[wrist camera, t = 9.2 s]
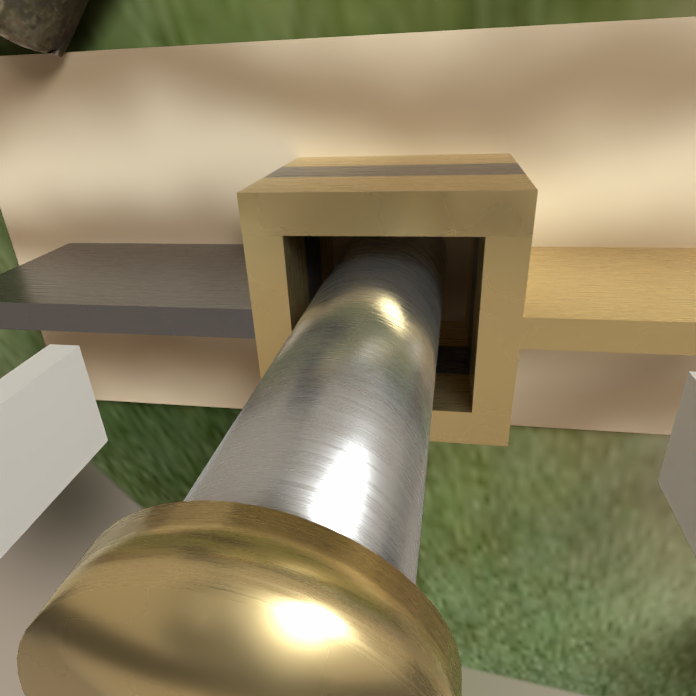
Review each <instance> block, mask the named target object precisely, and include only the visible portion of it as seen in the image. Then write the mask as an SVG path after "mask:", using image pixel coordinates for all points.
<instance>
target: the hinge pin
mask: <svg viewBox="0 0 696 696" xmlns="http://www.w3.org/2000/svg"><path fill="white" fill-rule="evenodd" d="M446 261H447V251H446V245H445V242H444V239H443V237H424V236H353V237H352V239H351V240H350V242H349V243H348V245H347V247H346V248H345V250H344V251H343V253H342V254H341V256H340V257H339V259H338V261H337V262H336V264H335V265H334V267H333V268H332V270H331V272H330V273H329V275H328V276H327V278H326V279H325V281H324V282H323V284H322V286H321V287H320V289H319V290H318V292H317V293H316V295H315V296H314V298H313V300H312V301H311V303H310V304H309V306H308V307H307V309H306V311H305V312H304V314H303V315H302V317H301V318H300V320H299V321H298V323H297V325H296V326H295V328H294V329H293V331H292V332H291V334H290V335H289V337H288V339H287V340H286V342H285V343H284V345H283V346H282V348H281V350H280V351H279V353H278V354H277V356H276V357H275V359H274V360H273V362H272V364H271V365H270V367H269V368H268V370H267V371H266V373H265V374H264V376H263V378H262V379H261V381H260V382H259V384H258V385H257V387H256V389H255V390H254V392H253V393H252V395H251V396H250V398H249V399H248V401H247V403H246V404H245V406H244V407H243V409H242V410H241V412H240V413H239V415H238V417H237V418H236V420H235V421H234V423H233V424H232V426H231V428H230V429H229V431H228V432H227V434H226V435H225V437H224V438H223V440H222V442H221V443H220V445H219V446H218V448H217V449H216V451H215V452H214V454H213V456H212V457H211V459H210V460H209V462H208V463H207V465H206V467H205V468H204V470H203V471H202V473H201V474H200V476H199V477H198V479H197V481H196V482H195V484H194V485H193V487H192V488H191V490H190V491H189V493H188V495H187V496H186V498H185V499H184V501H180V502H173V503H168V504H162V505H156V506H153V507H150V508H146V509H143V510H140V511H137V512H134V513H133V514H130V515H128V516H127V517H124V518H122V519H120V520H119V521H116V522H115V523H114V524H113V525H111V526H110V527H109V528H107V529H106V530H105V531H103V532H102V533H101V534H100V536H99V537H98V538H97V539H96V540H95V541H94V543H93V544H92V545H91V546H90V548H89V549H88V550H87V551H86V553H85V554H84V555H83V557H82V558H81V559H80V561H79V562H78V563H77V564H76V566H75V567H74V568H73V570H72V571H71V572H70V574H69V575H68V576H67V577H66V579H65V580H64V581H63V583H62V584H61V585H60V586H59V588H58V589H57V590H56V592H55V593H54V594H53V595H52V597H51V598H50V599H49V601H48V602H47V603H46V605H45V606H44V607H43V608H42V610H41V611H40V612H39V614H38V615H37V616H36V618H35V619H34V620H33V621H32V623H31V624H30V625H29V627H28V628H27V629H26V631H25V633H24V635H23V637H22V640H21V641H20V644H19V650H18V655H17V666H18V675H19V679H20V683H21V686H22V690H23V692H24V694H25V695H26V696H462V695H461V694H462V678H461V677H462V676H461V662H460V657H459V653H458V648H457V646H456V643H455V641H454V639H453V636H452V634H451V632H450V629H449V627H448V626H447V624H446V623H445V621H444V620H443V618H442V616H441V615H440V613H439V612H438V610H437V609H436V607H435V606H434V605H433V604H432V603H431V602H430V600H429V599H428V598H427V597H426V596H425V595H424V593H423V592H422V591H421V590H420V589H419V588H418V587H417V586H416V585H415V584H416V574H417V563H418V553H419V543H420V532H421V522H422V511H423V501H424V490H425V480H426V470H427V459H428V449H429V438H430V428H431V417H432V407H433V397H434V386H435V376H436V365H437V355H438V344H439V334H440V324H441V313H442V303H443V292H444V282H445V271H446Z"/></svg>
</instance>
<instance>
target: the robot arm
mask: <svg viewBox="0 0 696 696" xmlns="http://www.w3.org/2000/svg"><path fill="white" fill-rule="evenodd" d="M107 441H108V439H107V436H106V433H105V429H104V426H103V423H102V419H101V416H100V413H99V410H98V406H97V403H96V400H95V396H94V393H93V390H92V386H91V383H90V380H89V377H88V373H87V370H86V367H85V363H84V360H83V357H82V354H81V350H80V347H79V345H55V344H50V345H48V346H47V347H45V348H44V349H42V350H41V351H39V352H38V353H37V354H35V355H34V356H32V357H31V358H29V359H28V360H27V361H25V362H24V363H22V364H21V365H19V366H18V367H16V368H15V369H14V370H12V371H11V372H9V373H8V374H6V375H5V376H4V377H2V378H1V379H0V559H1V558H2V556H3V555H4V554H5V553H6V552H7V551H8V550H9V549H10V547H11V546H12V545H13V544H14V543H15V542H16V541H17V540H18V539H19V538H20V537H21V536H22V534H23V533H24V532H25V531H26V530H27V529H28V528H29V527H30V526H31V525H32V524H33V522H34V521H35V520H36V519H37V518H38V517H39V516H40V515H41V514H42V512H43V511H44V510H45V509H46V508H47V507H48V506H49V505H50V504H51V503H52V502H53V500H54V499H55V498H56V497H57V496H58V495H59V494H60V493H61V492H62V491H63V489H64V488H65V487H66V486H67V485H68V484H69V483H70V482H71V481H72V479H73V478H74V477H75V476H76V475H77V474H78V473H79V472H80V471H81V470H82V469H83V468H84V466H85V465H86V464H87V463H88V462H89V461H90V460H91V459H92V458H93V457H94V455H95V454H96V453H97V452H98V451H99V450H100V449H101V448H102V447H103V446H104V444H105V443H106V442H107ZM657 482H658V484H659V486H660V488H661V490H662V492H663V494H664V495H665V497H666V499H667V501H668V503H669V505H670V507H671V509H672V511H673V513H674V515H675V517H676V519H677V521H678V523H679V525H680V527H681V529H682V531H683V533H684V535H685V537H686V539H687V541H688V543H689V545H690V547H691V549H692V551H693V553H694V555H695V557H696V372H692V371H689V373H688V376H687V380H686V383H685V387H684V390H683V394H682V397H681V400H680V404H679V407H678V411H677V414H676V418H675V421H674V425H673V428H672V432H671V435H670V439H669V442H668V446H667V449H666V452H665V456H664V459H663V463H662V466H661V470H660V473H659V477H658V480H657Z"/></svg>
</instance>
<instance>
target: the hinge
mask: <svg viewBox="0 0 696 696" xmlns="http://www.w3.org/2000/svg"><path fill="white" fill-rule="evenodd" d="M537 195H538V190H537V188H536V187H535V186H534V184H533V183H532V182H531V180H530V179H529V178H528V176H527V175H526V174H525V172H524V171H523V170H522V168H521V167H520V166H519V164H518V163H517V162H516V160H515V159H514V158H513V156H512V155H511V154H510V153H493V154H441V155H390V156H338V157H298V158H296V159H295V160H293V161H291V162H289V163H288V164H286V165H284V166H282V167H281V168H279V169H277V170H275V171H274V172H272V173H270V174H268V175H267V176H265V177H263V178H262V179H260V180H258V181H256V182H255V183H253V184H251V185H249V186H248V187H246V188H244V189H242V190H241V191H239V192H237V200H238V207H239V215H240V223H241V230H242V238H243V244H157V243H68V244H66V245H64V246H62V247H60V248H57V249H55V250H53V251H51V252H49V253H46V254H44V255H42V256H40V257H38V258H35V259H33V260H31V261H29V262H27V263H24V264H22V265H20V266H18V267H16V268H13V269H11V270H9V271H7V272H4V273H2V274H0V329H14V330H40V331H66V332H92V333H118V334H144V335H170V336H196V337H222V338H248V339H256V345H257V353H258V360H259V368H260V376H261V379H262V378H263V376H264V374H265V373H266V371H267V370H268V368H269V367H270V365H271V364H272V362H273V360H274V359H275V357H276V356H277V354H278V353H279V351H280V350H281V348H282V346H283V345H284V343H285V342H286V340H287V339H288V337H289V335H290V334H291V332H292V331H293V329H294V328H295V326H296V325H297V323H298V321H299V320H300V318H301V317H302V315H303V314H304V312H305V311H306V309H307V307H308V306H309V304H310V303H311V301H312V300H313V298H314V296H315V295H316V293H317V292H318V290H319V289H320V287H321V286H322V284H323V282H324V281H325V279H326V278H327V276H328V275H329V273H330V272H331V270H332V268H333V267H334V249H333V236H424V237H471V247H470V262H469V277H468V293H467V308H466V321H441V324H440V334H439V344H438V355H437V365H436V376H435V386H434V397H433V407H432V417H431V428H430V438H429V441H437V442H452V443H467V444H481V445H496V446H508V441H509V432H510V424H511V415H512V407H513V398H514V390H515V382H516V373H517V365H518V356H519V349H534V350H560V351H586V352H612V353H638V354H664V355H690V356H696V248H644V247H531V246H532V238H533V229H534V221H535V212H536V204H537Z"/></svg>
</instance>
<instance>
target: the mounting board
mask: <svg viewBox="0 0 696 696" xmlns="http://www.w3.org/2000/svg"><path fill="white" fill-rule="evenodd" d="M493 153H510V154H511V155H512V156H513V158H514V159H515V160H516V162H517V163H518V164H519V166H520V167H521V168H522V170H523V171H524V172H525V174H526V175H527V176H528V178H529V179H530V180H531V182H532V183H533V184H534V186H535V187H536V188H537V190H538V195H537V204H536V212H535V221H534V229H533V238H532V246H531V247H644V248H696V17H680V18H662V19H645V20H627V21H609V22H592V23H574V24H556V25H539V26H521V27H504V28H486V29H468V30H451V31H433V32H415V33H398V34H380V35H362V36H345V37H327V38H309V39H292V40H274V41H257V42H239V43H221V44H204V45H186V46H168V47H151V48H133V49H115V50H98V51H80V52H65V53H64V55H63V56H62V57H60V56H58V55H52V53H45V54H27V55H10V56H0V208H1V211H2V214H3V217H4V220H5V223H6V226H7V229H8V232H9V235H10V238H11V241H12V244H13V247H14V250H15V253H16V257H17V260H18V263H19V266H20V265H22V264H24V263H27V262H29V261H31V260H33V259H35V258H38V257H40V256H42V255H44V254H46V253H49V252H51V251H53V250H55V249H57V248H60V247H62V246H64V245H66V244H68V243H157V244H243V238H242V230H241V223H240V215H239V207H238V200H237V192H239V191H241V190H242V189H244V188H246V187H248V186H249V185H251V184H253V183H255V182H256V181H258V180H260V179H262V178H263V177H265V176H267V175H268V174H270V173H272V172H274V171H275V170H277V169H279V168H281V167H282V166H284V165H286V164H288V163H289V162H291V161H293V160H295V159H296V158H298V157H338V156H390V155H441V154H493ZM352 237H353V236H333V249H334V265H335V264H336V262H337V261H338V259H339V257H340V256H341V254H342V253H343V251H344V250H345V248H346V247H347V245H348V243H349V242H350V240H351V239H352ZM443 239H444V242H445V245H446V251H447V261H446V271H445V282H444V292H443V303H442V313H441V321H466V308H467V293H468V277H469V262H470V247H471V237H443ZM41 332H42V335H43V338H44V341H45V344H46V347H47V346H48V345H50V344H55V345H79V347H80V350H81V354H82V357H83V360H84V363H85V367H86V370H87V373H88V377H89V380H90V383H91V386H92V390H93V393H94V396H95V400H107V401H123V402H140V403H156V404H172V405H189V406H205V407H222V408H238V409H243V407H244V406H245V404H246V403H247V401H248V399H249V398H250V396H251V395H252V393H253V392H254V390H255V389H256V387H257V385H258V384H259V382H260V381H261V376H260V368H259V360H258V353H257V345H256V339H248V338H222V337H196V336H170V335H144V334H118V333H92V332H66V331H41ZM689 371H692V372H696V356H690V355H664V354H638V353H612V352H586V351H560V350H534V349H519V356H518V365H517V373H516V382H515V390H514V398H513V407H512V415H511V424H510V425H516V426H532V427H549V428H565V429H582V430H598V431H614V432H631V433H647V434H663V435H671V432H672V428H673V425H674V421H675V418H676V414H677V411H678V407H679V404H680V400H681V397H682V394H683V390H684V387H685V383H686V380H687V376H688V373H689Z"/></svg>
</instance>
